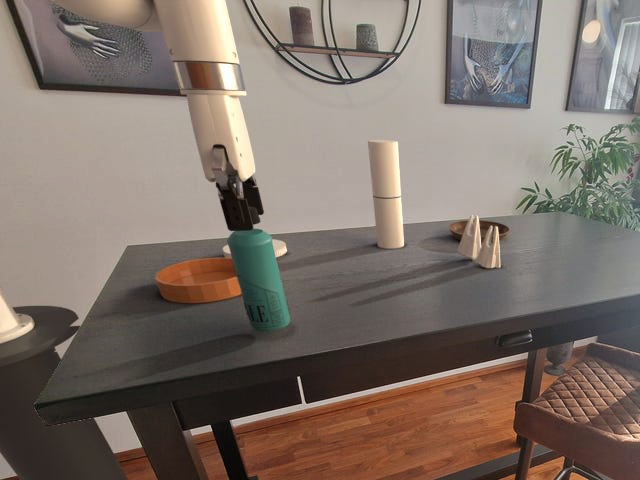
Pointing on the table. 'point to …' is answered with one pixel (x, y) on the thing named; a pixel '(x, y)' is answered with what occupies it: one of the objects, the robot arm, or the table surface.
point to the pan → (198, 281)
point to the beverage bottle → (259, 277)
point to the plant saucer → (484, 226)
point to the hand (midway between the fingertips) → (247, 222)
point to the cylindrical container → (386, 192)
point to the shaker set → (473, 248)
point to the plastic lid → (277, 244)
